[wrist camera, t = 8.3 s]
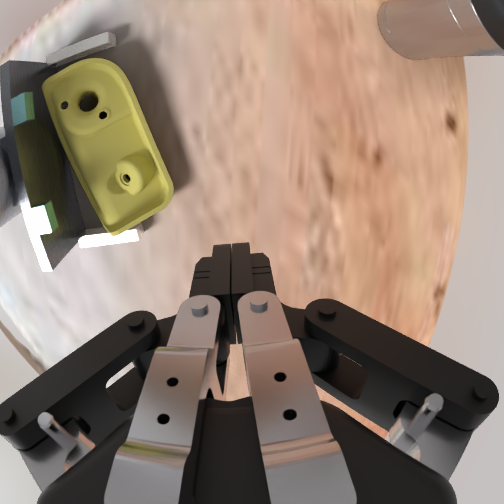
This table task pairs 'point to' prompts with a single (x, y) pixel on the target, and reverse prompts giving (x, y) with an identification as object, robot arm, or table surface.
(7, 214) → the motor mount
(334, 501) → the robot arm
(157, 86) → the table surface
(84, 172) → the plastic component
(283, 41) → the table surface
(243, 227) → the table surface
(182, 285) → the table surface
